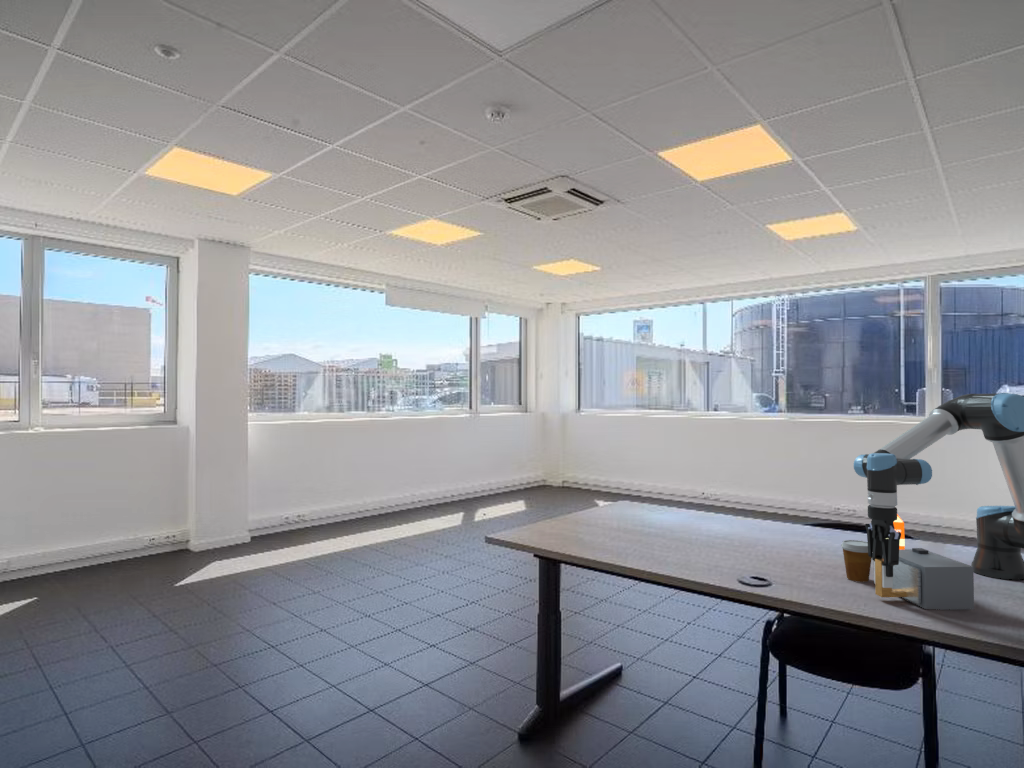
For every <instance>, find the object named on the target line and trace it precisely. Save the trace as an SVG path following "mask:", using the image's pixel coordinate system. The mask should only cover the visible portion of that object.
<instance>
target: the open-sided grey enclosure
mask: <svg viewBox="0 0 1024 768" xmlns="http://www.w3.org/2000/svg"><path fill="white" fill-rule="evenodd" d="M899 561H901V562H904V563H906V564H909V565H911V566H914V567H916V568H919V569H921V605H918V604H916V603H914V602H912V601H910V600H908V599H906V598H904V597H902V598H901V599H903V598H904V599H903V600H905V599H906V600H905V601H907V600H908V601H907V602H909V601H910V602H909V603H911V602H912V603H911V604H913V603H914V605H915V604H916V605H915V606H917V605H918V606H917V607H919V606H920V607H919V608H921V607H922V609H923V608H924V610H925V609H936V611H937V609H938V610H939V609H940V610H944V611H945V610H949V609H950V610H951V611H952V610H975V588H974V587H975V584H974V582H975V581H974V580H975V579H974V578H975V576H974V573H975V572H973V566H971V565H969V564H967V563H963V562H960V561H958V560H955V559H952V558H950V557H947V556H944V555H941V554H938V553H935V552H933V551H929V550H928V549H925V548H922V547H912V548H910V549H909V548H905V549H899ZM950 610H949V611H950Z"/></svg>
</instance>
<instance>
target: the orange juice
mask: <svg viewBox="0 0 1024 768" xmlns="http://www.w3.org/2000/svg"><path fill="white" fill-rule="evenodd" d="M893 524H894V528H895V529H894V530H895V531H896V532H900V533H901V538H900V543H899V549H906V545H905V544H906V539H905V522H904V521H903V519H902V518H901V517H900V516H899V514H898V513H897V520H895V521H894V522H893ZM886 539H889V538H886Z"/></svg>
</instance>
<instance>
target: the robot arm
mask: <svg viewBox="0 0 1024 768" xmlns="http://www.w3.org/2000/svg"><path fill="white" fill-rule="evenodd" d="M962 430H963V431H964V430H981V431H982V435H983V437H984V439H985V440H986V441H989V442H990V443H992V445H993V447H994V451H995V453H996V456H997V459H998V462H999V465H1000V468H1001V471H1002V474H1003V476H1004V479H1005V482H1006V484H1007V485H1006V486H1007V488H1008V490H1009V493H1010V497H1011V499H1012V503H1013V505H982V506H979V507H977V510H976V517H975V519H976V522H975V524H976V547H977V549H976V551H975V553H974V556H973V558H972V559H973V560H972V561H971V563H970V564H971V565H970V566H973V573H975V574H978V575H982V576H984V575H985V576H986V577H989V578H995V579H1000V578H1001V580H1009V579H1012V581H1015V580H1016V581H1018V580H1020V579H1024V558H1023V556H1022V554H1021V553H1022V551H1021V550H1022V549H1023V550H1024V396H1023V395H1020V394H1018V393H1008V392H1007V393H1006V392H1000V393H967V394H962V395H959V396H957V397H954V398H952V399H949V400H948V401H946V402H943V403H942V404H941V405H939V406H937V407H935V408H933V409H932V410H931V411H930V412H929V414H928V416H927V417H926V418H924V419H923V420H922V421H920V422H918V423H917V424H915V425H914V426H912V427H911V428H909V429H907V431H905V432H904V433H902V434H901V435H899V436H897V437H896V438H895V439H892V441H889V442H888V443H886V444H885V445H884V446H882V447H881V448H879V449H878V450H876V451H874V452H872V453H869V454H868V453H866V454H859V455H858V456H856V457H855V459H854V461H853V470H854V472H855V474H857V476H859V477H861V478H864V479H865V478H867V479H866V481H867V483H866V484H867V504H869V505H868V506H867V517H868V518H869V519H871V521H870V523H865V524H864V525H865V531H866V538H867V539H866V542H868V555H869V557H872V559H871V561H873V573H874V574H873V575H874V576H873V578H874V579H873V580H874V581H873V583H874V584H875V559H883V560H884V563H881V564H882V587H883V588H893V566H894V565H898V564H899V543H900V538H901V533H900V532H896V531H895V530H894V529H895V528H894V524H893V522H894V521H895V520H897V514H898V508H897V507H896V506H898V486H901V485H902V486H906V485H916V486H918V485H924V484H927V483H929V482H930V481H931V479H932V478H933V469H932V466H931V465H930V464H929V462H928V461H926V460H924V459H920V458H919V459H918V458H914V457H915V456H917V455H918V454H919V453H921V452H923V451H925V450H926V449H927V448H929V447H930V446H932V445H933V444H935V443H936V442H938V441H940V440H941V439H942V438H944V437H945V436H947V435H955V434H956V433H957V432H959V431H962ZM886 538H889V539H886ZM985 576H984V577H985ZM1020 581H1021V580H1020Z"/></svg>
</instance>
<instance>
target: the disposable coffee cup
mask: <svg viewBox="0 0 1024 768" xmlns="http://www.w3.org/2000/svg"><path fill="white" fill-rule="evenodd" d="M840 547H841V549H842V552H843V553H842V554H843V559H844V567H845V573H846V579H847V578H848V579H847V580H849V581H851V582H852V581H853V582H856V581H857V583H867V582H869V580H870V574H871V565H872V557H869V555H868V541H863V540H859V539H858V540H855V539H845V540H842V543H841V545H840Z"/></svg>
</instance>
